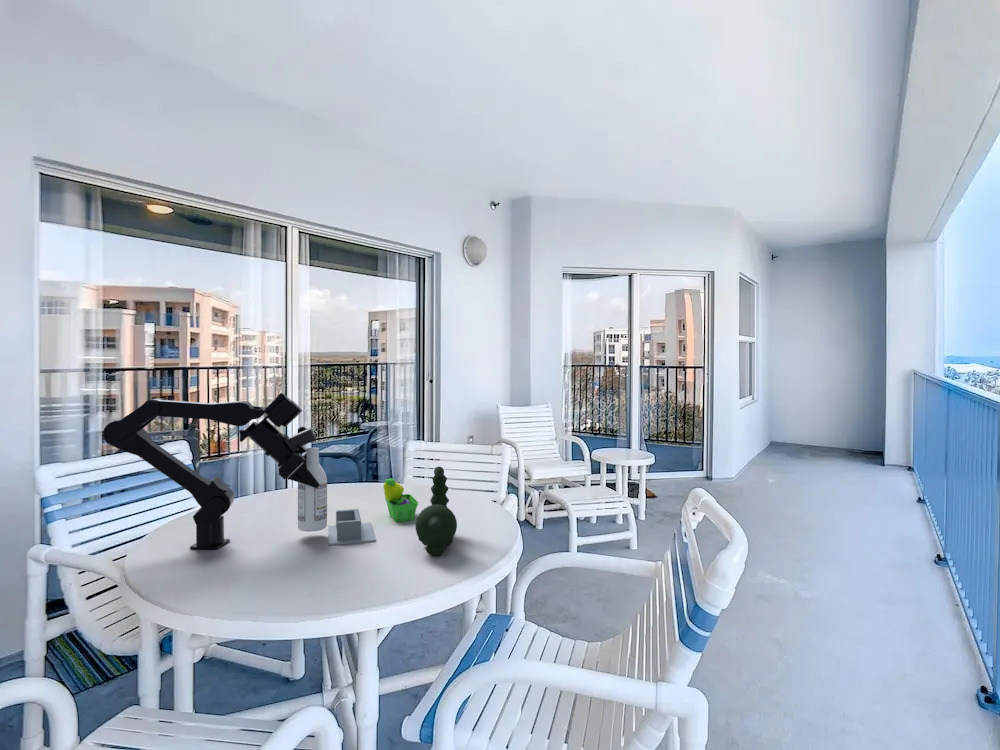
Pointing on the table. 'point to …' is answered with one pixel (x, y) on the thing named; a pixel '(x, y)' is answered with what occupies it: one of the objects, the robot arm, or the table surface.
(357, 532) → the gray square holder
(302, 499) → the bath foam
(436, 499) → the dark green ornament
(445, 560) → the table surface
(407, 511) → the fruit basket
